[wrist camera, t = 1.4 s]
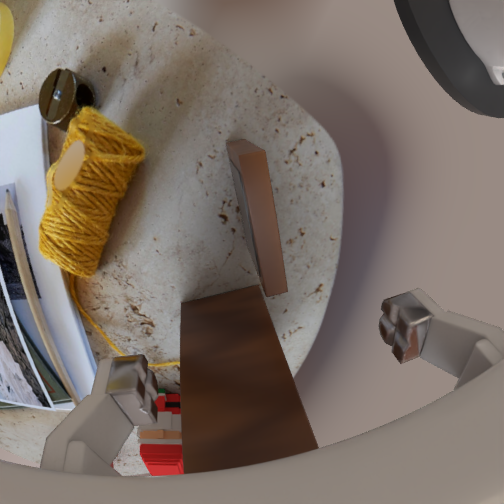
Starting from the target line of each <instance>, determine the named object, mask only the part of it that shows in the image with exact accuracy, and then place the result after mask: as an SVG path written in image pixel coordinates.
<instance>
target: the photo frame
mask: <svg viewBox="0 0 504 504" xmlns="http://www.w3.org/2000/svg"><path fill="white" fill-rule="evenodd" d="M226 147H227V152H228V156H229V162H230V166H231V171H232V176H233V181H234V185H235V190H236V195H237V199H238V204H239V209H240V214H241V218H242V223H243V228H244V233H245V237H246V242H247V246H248V250H249V253H250V255H251V258H252V261H253V263H254V266H255V269H256V271H257V274H258V276H259V279H260V282H261V284H262V287H263V290H264V292H265V295H266V297H270V296H274V295H278V294H281V293H285V292H288V288H287V281H286V275H285V268H284V261H283V255H282V248H281V242H280V236H279V229H278V223H277V217H276V211H275V205H274V199H273V193H272V187H271V181H270V175H269V169H268V164H267V158H266V152H265V150H263V149H261V148H260V147H258V146H256V145H254V144H252V143H251V142H249V141H247V140H245V139H241V140H237V141H232V142H227V143H226Z"/></svg>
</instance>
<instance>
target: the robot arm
mask: <svg viewBox="0 0 504 504" xmlns="http://www.w3.org/2000/svg"><path fill="white" fill-rule="evenodd" d="M449 3H450V7H451V10H452V13H453V15H454V18H455V20H456V22H457V25H458V27H459V29H460V31H461V33H462V34H463V36H464V38H465V40H466V41H467V43H468V44H469V46H470V47H471V49H472V50H473V51H474V52H475V54H476V55H477V56H478V57H479V58H480V60H481V61H482V62H483V64H484V65H485V67H486V69H487V71H488V74H489V76H490V78H491V80H492V81H493V83H494V84H495V85H504V0H449ZM381 310H382V311H383V312H384V314H383V315H382V317H381V318H380V320H379V330H380V335H381V337H382V339H383V340H384V342H385V343H386V344H388V345H390V346H392V353H393V354H394V355H395V357H396V358H397V360H398V361H399V362H400V364H402V363H405V362H407V361H410V360H412V359H415V358H417V357H420V358H422V359H424V360H426V361H427V362H429V363H431V364H433V365H435V366H437V367H438V368H440V369H442V370H444V371H446V372H448V373H450V374H452V375H453V376H455V377H457V378H459V380H458V382H457V384H456V386H455V388H454V391H452V392H450V393H448V394H446V395H445V396H443V397H441V398H439V399H437V400H436V401H434V402H432V403H430V404H428V405H426V406H424V407H422V408H420V409H418V410H416V411H414V412H412V413H410V414H408V415H405V416H403V417H401V418H399V419H396V420H394V421H392V422H390V423H388V424H385V425H383V426H380V427H378V428H375V429H373V430H370V431H368V432H365V433H362V434H360V435H357V436H355V437H352V438H349V439H346V440H343V441H340V442H337V443H334V444H331V445H328V446H325V447H322V448H318V449H315V450H311V451H308V452H304V453H301V454H297V455H293V456H289V457H285V458H281V459H277V460H273V461H268V462H263V463H258V464H253V465H248V466H243V467H237V468H231V469H224V470H217V471H209V472H200V473H190V474H178V475H161V476H121V474H120V473H118V472H117V471H116V470H115V469H113V468H112V467H111V466H110V465H111V463H112V462H113V460H114V459H115V457H116V456H117V454H118V452H119V451H120V449H121V448H122V446H123V444H124V443H125V441H126V440H127V438H128V437H129V435H130V433H131V432H132V430H133V429H134V426H140V425H150V424H157V418H158V407H157V406H156V404H155V401H156V400H157V398H158V384H157V380H156V377H155V375H154V373H153V371H152V370H150V369H148V368H147V367H148V361H147V359H146V358H145V356H144V355H142V354H138V355H129V356H119V357H112V358H102V359H101V360H100V361H99V364H98V368H97V372H96V376H95V380H94V384H93V388H92V392H91V395H87V396H86V397H85V398H84V399H83V400H82V401H81V402H80V403H79V404H78V405H77V406H76V407H75V408H74V409H73V410H72V411H71V412H70V413H69V414H68V416H67V417H66V418H65V419H64V420H63V421H62V422H61V423H60V424H59V425H58V426H57V427H56V428H55V429H54V430H53V431H52V432H51V433H50V435H49V436H48V437H47V438H46V442H45V446H44V451H43V455H42V460H41V464H40V468H36V467H31V466H26V465H21V464H16V463H12V462H7V461H4V460H0V504H504V331H503V330H502V329H501V328H500V327H497V326H494V325H491V324H488V323H485V322H482V321H479V320H476V319H473V318H470V317H467V316H463V315H460V314H457V313H454V312H451V311H447V312H445V311H444V310H443V309H442V308H441V307H440V306H439V305H438V304H437V303H436V302H435V301H434V300H433V299H432V298H431V297H429V296H428V295H427V294H426V293H425V292H424V291H423V290H422V289H420V288H417V289H414V290H411V291H408V292H406V293H403V294H400V295H397V296H394V297H391V298H388V299H385V300H384V301H383V303H382V306H381Z"/></svg>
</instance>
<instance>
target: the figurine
mask: <svg viewBox="0 0 504 504" xmlns="http://www.w3.org/2000/svg"><path fill="white" fill-rule="evenodd" d="M155 404H156V406H157V407H158V418H157V424H150V425H140V426H139V427H138V431H137V436H138V437H139V438H140V439H138V445H139V447H140V455H141V457H142V460H143V462H144V463H145V465H146V467H147V469H148V470H149V472H150V474H151V475H152V476H161V475H178V474H184V470H183V454H182V434H181V404H180V395H179V394H166V393H165V389H158V398H157V400H156V401H155Z"/></svg>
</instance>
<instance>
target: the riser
mask: <svg viewBox="0 0 504 504" xmlns="http://www.w3.org/2000/svg"><path fill="white" fill-rule="evenodd" d="M180 404H181V434H182V454H183V470H184V474H190V473H200V472H209V471H217V470H224V469H231V468H237V467H243V466H248V465H253V464H258V463H263V462H268V461H273V460H277V459H281V458H285V457H289V456H293V455H297V454H301V453H304V452H308V451H311V450H315V449H318V448H319V447H318V444H317V441H316V439H315V436H314V434H313V431H312V428H311V425H310V423H309V420H308V418H307V415H306V412H305V409H304V406H303V404H302V401H301V399H300V396H299V393H298V390H297V388H296V385H295V382H294V379H293V377H292V374H291V371H290V369H289V366H288V363H287V361H286V358H285V355H284V352H283V350H282V347H281V344H280V342H279V339H278V336H277V333H276V331H275V328H274V325H273V322H272V320H271V317H270V314H269V312H268V309H267V306H266V303H265V301H264V298H263V295H262V292H261V290H260V287H259V285H255V286H251V287H247V288H243V289H239V290H235V291H231V292H226V293H222V294H218V295H214V296H210V297H206V298H202V299H197V300H193V301H189V302H185V303H181V325H180Z"/></svg>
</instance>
